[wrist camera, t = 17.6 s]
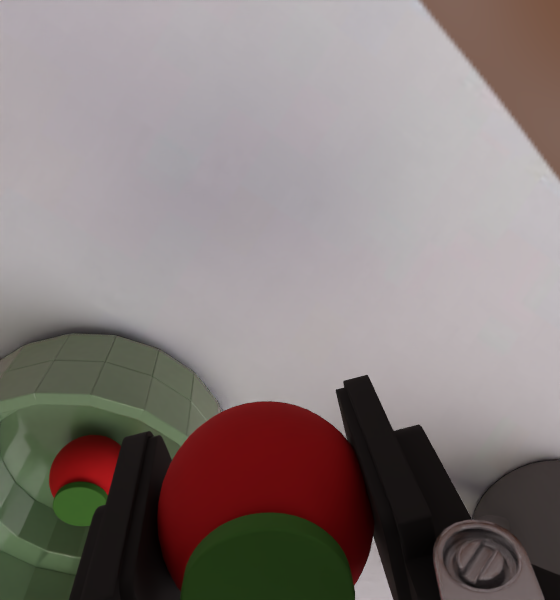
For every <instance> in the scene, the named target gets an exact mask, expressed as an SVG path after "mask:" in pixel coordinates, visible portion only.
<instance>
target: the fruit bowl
mask: <svg viewBox="0 0 560 600" xmlns="http://www.w3.org/2000/svg"><path fill="white" fill-rule="evenodd" d="M219 413H221V410H220V406H219V403H218V401H217V400H216V399H215V398H214V396H213V395H212V394H211V393H210V391H209V390H208V389H207V388H206V386H205V385H204V384H203V382H202V381H201V380H200V379H199V377H198V376H197V375H196V374H195V373H194V372H193V371H192V370H190V369H189V368H187V367H186V366H184V365H183V364H181V363H180V362H178V361H177V360H175V359H174V358H172V357H171V356H169V355H168V354H166V353H165V352H163V351H162V350H160V349H158V348H154V347H151V346H148V345H145V344H142V343H139V342H136V341H133V340H129V339H126V338H123V337H120V336H116V335H102V334H76V333H70V334H66V335H62V336H58V337H54V338H50V339H45V340H41V341H37V342H33V343H29V344H27V345H24V346H22V347H21V348H19V349H17V350H16V351H14V352H13V353H11V354H9V355H8V356H6V357H4V358H3V359H1V360H0V600H69V597H70V594H71V590H72V587H73V583H74V580H75V576H76V573H77V569H78V566H79V563H80V559H81V556H82V552H83V549H84V545H85V542H86V538H87V535H88V531H89V528H90V526H74V525H70V524H68V523H65V522H64V521H62V520H61V519H59V518H58V517H57V516H56V514H55V512H54V510H53V500H54V497H53V495H52V493H51V490H50V486H49V474H50V469H51V465H52V463H53V461H54V459H55V457H56V456H57V454H58V453H59V451H60V450H61V449H62V448H63V447H64V446H65V445H67V444H68V443H69V442H71V441H73V440H75V439H77V438H79V437H82V436H86V435H101V436H105V437H108V438H111V439H113V440H114V441H116V442H117V443H118V444H119V445H120V446H121V444H122V441H123V439H124V438H125V437H127V436H131V435H135V434H139V433H143V432H146V431H151V432H152V434H153V435H154V436H157V435H161V436H162V438H163V440H164V442H165V445H166V447H167V449H168V452H169V454H170V456H171V459H172V460H173V458H174V456H175V455H176V453H177V451H178V450H179V449H180V447H181V446H182V445H183V443H184V442H185V441H186V440H187V438H188V437H189V436H190V435H191V434H192V433H193V432H194V431H195V430H196V429H197V428H198V427H200V426H201V425H202V424H204V423H205V422H206V421H208V420H209V419H210V418H212V417H213V416H215V415H217V414H219Z"/></svg>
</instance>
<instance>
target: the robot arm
mask: <svg viewBox="0 0 560 600" xmlns="http://www.w3.org/2000/svg"><path fill="white" fill-rule="evenodd" d="M336 394H337V398H338V402H339V407H340V411H341V415H342V420H343V424H344V428H345V433H346V437H347V441H348V442H349V443H350V444H351V446H352V447H353V448H354V450H355V453H356V456H357V459H358V462H359V465H360V469H361V472H362V475H363V479H364V482H365V486H366V489H367V493H368V497H369V501H370V505H371V509H372V513H373V518H374V533H373V536H374V539H375V543H376V546H377V549H378V552H379V555H380V558H381V562H382V565H383V568H384V571H385V574H386V578H387V581H388V584H389V587H390V590H391V593H392V597H393V600H560V575H558V574H555V573H553V572H551V571H548V570H546V569H543V568H541V567H538V566H536V565H533V564H531V562H530V560H529V557H528V554H527V552H526V550H525V549H524V547H523V545H522V543H521V542H520V540H519V539H518V538H517V537H516V536H514V535H513V534H512V533H511V532H510V531H509V530H507V529H505V528H503V527H502V526H500V525H498V524H496V523H492V522H488V521H484V520H472V518H471V517H470V515H469V513H468V511H467V509H466V507H465V506H464V504H463V502H462V500H461V498H460V496H459V494H458V493H457V491H456V489H455V487H454V485H453V483H452V482H451V480H450V478H449V476H448V474H447V472H446V470H445V469H444V467H443V465H442V463H441V461H440V459H439V458H438V456H437V454H436V452H435V450H434V448H433V446H432V445H431V443H430V441H429V439H428V437H427V435H426V434H425V432H424V430H423V428H422V427H421V426H420V425H415V426H412V427H408V428H404V429H400V430H396V431H393V429H392V427H391V425H390V422H389V420H388V418H387V416H386V414H385V411H384V409H383V407H382V405H381V403H380V401H379V398H378V396H377V394H376V392H375V390H374V387H373V385H372V383H371V381H370V379H369V377H368V375H365V376H361V377H357V378H353V379H349V380H345V381H344V388H341V389H337V390H336ZM171 461H172V459H171V456H170V454H169V452H168V449H167V447H166V445H165V442H164V440H163V438H162V436H161V435H157V436H154V435H153V434H152V432H151V431H146V432H143V433H139V434H135V435H131V436H127V437H125V438H124V439H123V441H122V444H121V448H120V452H119V456H118V459H117V463H116V467H115V471H114V474H113V478H112V482H111V486H110V489H109V493H108V497H107V501H106V504H105V505H102V506H99V507H98V508H97V509H96V510H95V512H94V515H93V517H92V521H91V524H90V528H89V531H88V535H87V538H86V542H85V545H84V549H83V552H82V556H81V559H80V563H79V566H78V569H77V573H76V576H75V580H74V583H73V587H72V590H71V594H70V597H69V600H180V596H181V591H180V590H179V589H178V587H177V586H176V584H175V582H174V581H173V579H172V577H171V575H170V573H169V571H168V569H167V566H166V564H165V561H164V559H163V555H162V551H161V546H160V542H159V537H158V524H157V513H158V502H159V497H160V492H161V488H162V483H163V480H164V478H165V475H166V473H167V470H168V468H169V466H170V463H171Z"/></svg>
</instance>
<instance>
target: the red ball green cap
mask: <svg viewBox="0 0 560 600" xmlns="http://www.w3.org/2000/svg"><path fill="white" fill-rule="evenodd" d="M120 448H121V446H120V445H119V444H118V443H117V442H116V441H114V440H113V439H111V438H108V437H105V436H101V435H86V436H82V437H79V438H77V439H75V440H73V441H71V442H69V443H68V444H67V445H65V446H64V447H63V448H62V449H61V450H60V451H59V453H58V454H57V456H56V457H55V459H54V461H53V463H52V465H51V469H50V474H49V486H50V490H51V493H52V495H53V497H54V500H53V510H54V512H55V514H56V516H57V517H58V518H59V519H61V520H62V521H64V522H65V523H68V524H70V525H74V526H90V524H91V521H92V517H93V515H94V512H95V510H96V509H97V508H98V507H99V506H102V505H105V504H106V501H107V497H108V493H109V489H110V486H111V482H112V478H113V474H114V471H115V467H116V463H117V459H118V456H119V452H120Z"/></svg>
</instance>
